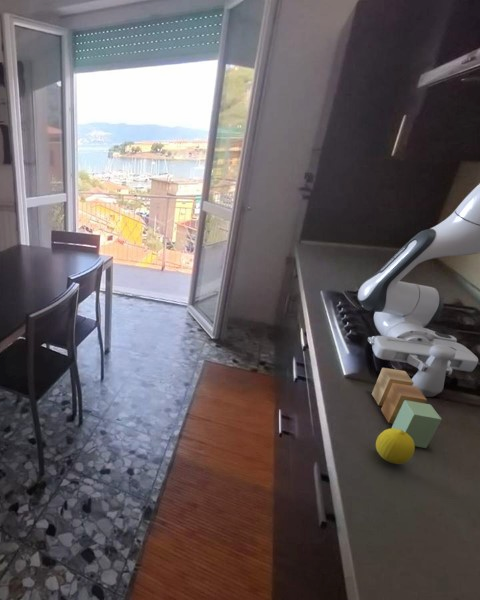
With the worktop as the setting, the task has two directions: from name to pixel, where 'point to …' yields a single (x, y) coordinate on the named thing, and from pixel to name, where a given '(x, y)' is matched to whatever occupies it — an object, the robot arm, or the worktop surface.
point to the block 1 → (389, 383)
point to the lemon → (395, 446)
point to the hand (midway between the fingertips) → (436, 370)
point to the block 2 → (400, 399)
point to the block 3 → (417, 422)
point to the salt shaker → (434, 371)
